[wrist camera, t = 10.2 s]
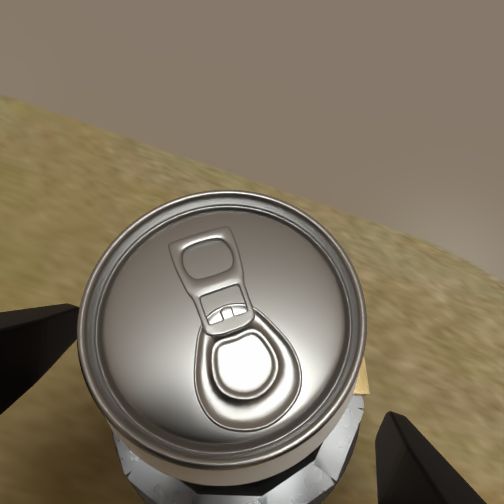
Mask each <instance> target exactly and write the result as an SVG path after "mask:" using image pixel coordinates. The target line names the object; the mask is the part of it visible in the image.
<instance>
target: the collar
mask: <svg viewBox="0 0 504 504" xmlns="http://www.w3.org/2000/svg"><path fill="white" fill-rule="evenodd" d="M368 394H369V387H368V380H367V373H366V366H365V358H364V355H363V360H362V363H361V367H360V370H359V375H358V379H357V383H356V386H355V389H354V392H353V395H352V397H351V400H350V402H349V404H348V406H347V408H346V410H345V412H344V414H343V416H342V417H341V419H340V421H339V422H338V424H337V425H336V427H335V428H334V429H333V431H332V432H331V433H330V434H329V436H328V437H327V438H326V439H325V440H324V441H323V442H322V443H321V444H320V445H319V446H318V447H317V448H316V449H315V450H314V451H313V452H312V453H310V454H309V455H308V456H307V457H305V458H304V459H303V460H301V461H300V462H298V463H297V464H295V465H294V466H292V467H290V468H288V469H287V470H285V471H283V472H281V473H278V474H276V475H274V476H271V477H269V478H266V479H263V480H259V481H256V482H252V483H247V484H241V485H232V486H210V485H201V484H196V483H191V482H187V481H183V480H180V479H177V478H174V477H172V476H169V475H167V474H165V473H162V472H161V471H159V470H157V469H155V468H153V467H152V466H150V465H148V464H147V463H146V462H144V461H143V460H141V459H140V458H139V457H138V456H136V455H135V454H134V453H133V452H132V451H131V450H130V449H129V448H128V447H127V446H126V445H125V444H124V443H123V442H122V441H121V440H120V439H119V437H118V436H117V435H116V434H115V432H114V431H113V429H112V428H111V430H112V435H113V439H114V444H115V448H116V451H117V454H118V457H119V459H120V462H121V465H122V467H123V471H124V474H125V475H127V477H128V478H127V479H128V480H129V481H130V482H131V484H132V485H133V487H134V488H135V489H136V491H137V492H138V493H139V495H140V496H141V497H142V499H143V500H144V501H145V502H146V503H147V504H321V503H322V502H323V500H324V499H325V498H326V497H327V496H328V495H329V493H330V492H331V491H332V490H333V489H334V487H335V485H336V484H337V482H338V481H339V479H340V478H341V476H342V475H343V473H344V471H345V469H346V467H347V464H348V462H349V460H350V458H351V456H352V453H353V450H354V446H355V443H356V440H357V437H358V431H359V425H360V420H361V417H362V415H363V411H362V410H361V409H362V408H364V403H363V396H362V395H368Z"/></svg>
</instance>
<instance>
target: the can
mask: <svg viewBox="0 0 504 504" xmlns="http://www.w3.org/2000/svg"><path fill="white" fill-rule="evenodd" d="M366 336H367V314H366V305H365V300H364V295H363V291H362V287H361V284H360V281H359V278H358V276H357V273H356V271H355V269H354V267H353V265H352V263H351V261H350V259H349V257H348V256H347V254H346V253H345V251H344V250H343V248H342V247H341V245H340V244H339V243H338V241H337V240H336V239H335V238H334V237H333V236H332V235H331V233H330V232H329V231H328V230H327V229H326V228H325V227H323V226H322V225H321V224H320V223H319V222H318V221H316V220H315V219H314V218H313V217H311V216H310V215H308V214H307V213H305V212H304V211H302V210H300V209H299V208H297V207H295V206H293V205H291V204H289V203H287V202H284V201H282V200H280V199H277V198H274V197H271V196H268V195H264V194H260V193H255V192H249V191H241V190H213V191H205V192H199V193H194V194H190V195H186V196H183V197H180V198H177V199H174V200H171V201H169V202H166V203H164V204H162V205H160V206H158V207H156V208H154V209H152V210H151V211H149V212H147V213H146V214H144V215H143V216H141V217H140V218H138V219H137V220H136V221H134V222H133V223H132V224H130V225H129V226H128V227H127V228H126V229H125V230H123V231H122V232H121V233H120V234H119V235H118V236H117V237H116V238H115V240H114V241H113V242H112V243H111V244H110V245H109V247H108V248H107V249H106V250H105V252H104V253H103V255H102V256H101V258H100V259H99V261H98V262H97V264H96V266H95V267H94V269H93V271H92V273H91V275H90V277H89V280H88V282H87V285H86V287H85V290H84V293H83V296H82V300H81V304H80V308H79V314H78V322H77V348H78V356H79V362H80V366H81V370H82V374H83V377H84V380H85V383H86V385H87V388H88V390H89V392H90V394H91V396H92V398H93V400H94V402H95V403H96V405H97V407H98V408H99V410H100V411H101V412H102V414H103V415H104V417H105V418H106V420H107V421H108V423H109V425H110V426H111V428H112V429H113V431H114V432H115V434H116V435H117V436H118V437H119V439H120V440H121V441H122V442H123V443H124V444H125V445H126V446H127V447H128V448H129V449H130V450H131V451H132V452H133V453H134V454H135V455H136V456H138V457H139V458H140V459H141V460H143V461H144V462H146V463H147V464H148V465H150V466H152V467H153V468H155V469H157V470H159V471H161V472H162V473H165V474H167V475H169V476H172V477H174V478H177V479H180V480H183V481H187V482H191V483H196V484H201V485H210V486H232V485H241V484H247V483H252V482H256V481H259V480H263V479H266V478H269V477H271V476H274V475H276V474H278V473H281V472H283V471H285V470H287V469H288V468H290V467H292V466H294V465H295V464H297V463H298V462H300V461H301V460H303V459H304V458H305V457H307V456H308V455H309V454H310V453H312V452H313V451H314V450H315V449H316V448H317V447H318V446H319V445H320V444H321V443H322V442H323V441H324V440H325V439H326V438H327V437H328V436H329V434H330V433H331V432H332V431H333V429H334V428H335V427H336V425H337V424H338V422H339V421H340V419H341V417H342V416H343V414H344V412H345V410H346V408H347V406H348V404H349V402H350V400H351V397H352V395H353V392H354V389H355V386H356V383H357V379H358V375H359V370H360V367H361V363H362V360H363V355H364V351H365V345H366Z"/></svg>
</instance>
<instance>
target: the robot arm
mask: <svg viewBox="0 0 504 504" xmlns="http://www.w3.org/2000/svg"><path fill="white" fill-rule="evenodd" d="M78 314H79V307H77V306H74V305H71V304H59V305H52V306H44V307H37V308H29V309H22V310H15V311H7V312H0V415H1V414H2V413H3V412H4V411H5V410H6V409H7V408H9V407H10V406H11V405H12V404H13V403H14V402H15V401H16V400H17V399H19V398H20V397H21V396H22V395H23V394H24V393H25V392H26V391H27V390H29V389H30V388H31V387H32V386H33V385H34V384H35V383H36V382H37V381H38V380H39V379H40V378H41V377H42V376H43V375H44V374H45V373H46V372H47V371H48V370H49V369H50V368H51V367H52V365H53V364H54V363H55V362H56V361H57V360H58V359H59V358H60V357H61V356H62V355H63V354H64V352H65V351H66V350H67V349H68V348H69V347H70V346H71V345H72V344H73V343H74V342H75V341H76V339H77V322H78ZM375 452H376V474H377V495H378V504H487V503H486V502H485V501H484V500H483V499H482V498H481V497H480V496H479V495H478V494H477V493H476V492H475V491H474V489H473V488H472V487H471V486H470V485H469V484H468V483H467V482H466V481H465V480H464V479H463V478H462V477H461V476H460V474H459V473H458V472H457V471H456V470H455V469H454V468H453V467H452V466H451V465H450V464H449V463H448V462H447V461H446V459H445V458H444V457H443V456H442V455H441V454H440V453H439V452H438V451H437V450H436V449H435V448H434V447H433V446H432V444H431V443H430V442H429V441H428V440H427V439H426V438H425V437H424V436H423V435H422V434H421V433H420V432H419V431H418V429H417V428H416V427H415V426H414V425H413V424H412V423H411V422H410V421H409V420H408V419H407V418H406V417H405V416H403V415H401V414H398V413H395V412H392V411H389V412H387V413H386V415H385V417H384V419H383V421H382V424H381V426H380V428H379V431H378V433H377V435H376V440H375Z"/></svg>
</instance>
